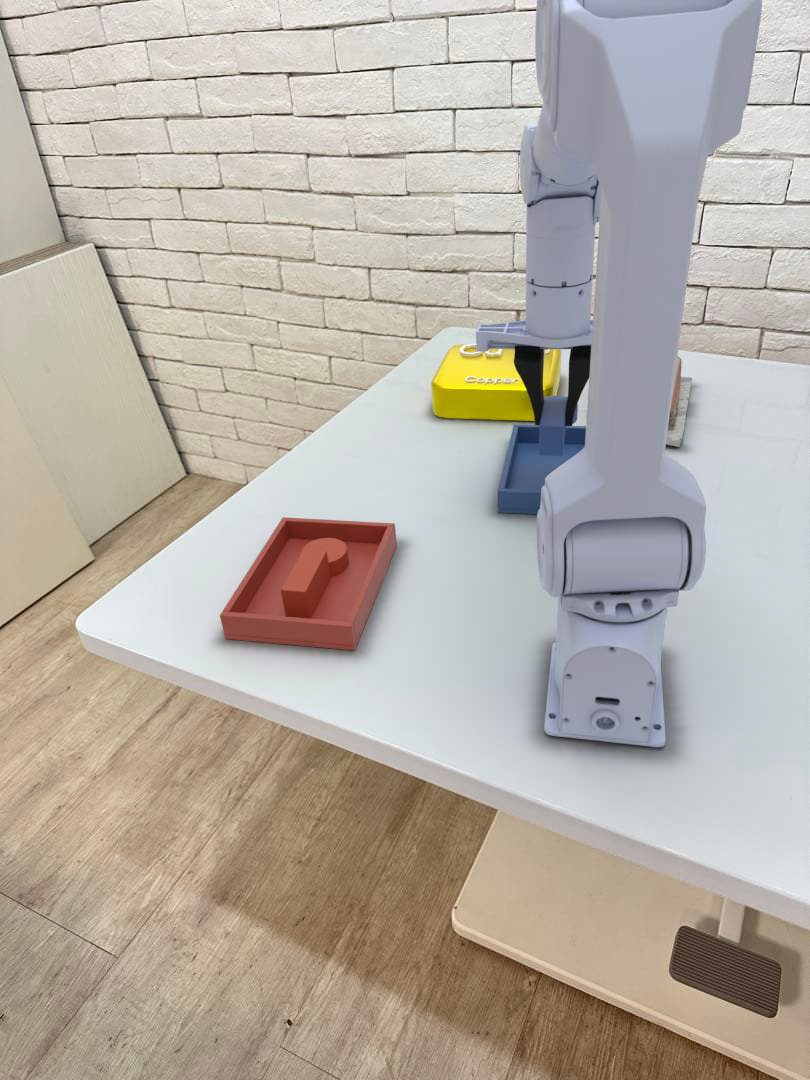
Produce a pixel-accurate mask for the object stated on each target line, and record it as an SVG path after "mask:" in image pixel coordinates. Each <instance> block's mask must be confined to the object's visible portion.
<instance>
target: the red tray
mask: <svg viewBox="0 0 810 1080" xmlns="http://www.w3.org/2000/svg"><path fill="white" fill-rule="evenodd" d="M321 538H335V539H339V540H341V541H343V542H344V543H345V544H346V546H347V552H348V559H349V564H348V566H347V568H346V569H345V570H344V571H343V572H341V573H339V574H337V575H335V576H331V579H330V581H329V583H328V585H327V587H326V589H325V591H324V593H323V595H322V597H321V599H320V601H319V603H318V605H317V607H316V609H315V611H314V613H313V615H312V617H311V619H309V618H297V617H286V615H285V610H284V605H283V600H282V595H281V588H282V586H283V585H284V583H285V581H286V579H287V578H288V576H289V574H290V572H291V571H292V569H293V567H294V565H295V564H296V562H297V560H298V558H299V556H300V555H301V551H302V549H303V547H304V546H305V545H306V544H308V543H310V542H311V541H314V540H317V539H321ZM397 546H398V542H397V532H396V523H394V522H377V521H376V522H375V521H356V520H342V519H341V520H339V519H322V518H321V519H320V518H302V517H284V516H283V517H282V518H281V519H280V521H279V522H278V524H277V526H276V527H275V529H273V532H272V533H271V535H270V537H269V538H267V541H266V542H265V544H264V546H263V547H262V549H261V550H260V552H259V553H258V555H257V556H256V558H255V559H254V561H253V562H252V564H251V566H250V567H249V569H248V571H247V572H246V574H245V575H244V576H243V579H242V580H241V582H240V583H239V584H238V586H237V587H236V589H235V590H234V592H233V593H232V596H231V597H230V598H229V600H228V602H227V603H226V605H225V606H224V608H223V609H222V611H221V612H220V614H219V618H220V622H221V627H222V630H223V634H224V638H225V640H227V639H228V640H235V641H245V642H246V641H247V642H256V643H267V644H268V643H269V644H277V645H278V644H279V645H290V646H300V647H302V646H303V647H311V648H322V649H334V650H342V651H343V650H344V651H356V649H357V646H358V643H359V641H360V638H361V636H362V633H363V631H364V628H365V626H366V624H367V621H368V618H369V616H370V614H371V611H372V608H373V606H374V604H375V601H376V598H377V596H378V594H379V591H380V588H381V586H382V585H383V584H382V583H383V581H384V579H385V576H386V573H387V571H388V569H389V566H390V564H391V561H392V559H393V556H394V554H395V551H396V549H397Z"/></svg>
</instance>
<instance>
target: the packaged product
mask: <svg viewBox="0 0 810 1080" xmlns="http://www.w3.org/2000/svg"><path fill="white" fill-rule="evenodd" d="M692 378H693V377H687V376H686V377H685V376H682V358H681V357H680V356H678V355H677V362H676V370H675V378H674V385H673V393H672V401H671V408H670V416H669V424H668V431H667V439H666V445H667V446H673V447H678V448H680V447H681V443H682V439H683V434H684V430H685V425H686V418H687V410H688V407H689V398H690V395H691V388H692V382H693V379H692Z"/></svg>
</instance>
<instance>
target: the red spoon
mask: <svg viewBox="0 0 810 1080" xmlns="http://www.w3.org/2000/svg"><path fill="white" fill-rule="evenodd" d="M348 564H349V559H348V552H347V546H346V544H345V543H344V542H343V541H341V540H339V539H335V538H321V539H317V540H314V541H311V542H310V543H308V544H306V545H305V546H304V547H303V549H302V551H301V555H300V556H299V558H298V560H297V562H296V564H295V565H294V567H293V569H292V571H291V572H290V574H289V576H288V578H287V579H286V581H285V583H284V585H283V586H282V588H281V595H282V600H283V605H284V610H285V615H286V617H297V618H309V619H311V617H312V615H313V613H314V611H315V609H316V607H317V605H318V603H319V601H320V599H321V597H322V595H323V593H324V591H325V589H326V587H327V585H328V583H329V581H330V579H331V576H335V575H337V574H339V573H341V572H343V571H344V570H345V569H346V568H347V566H348Z"/></svg>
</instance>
